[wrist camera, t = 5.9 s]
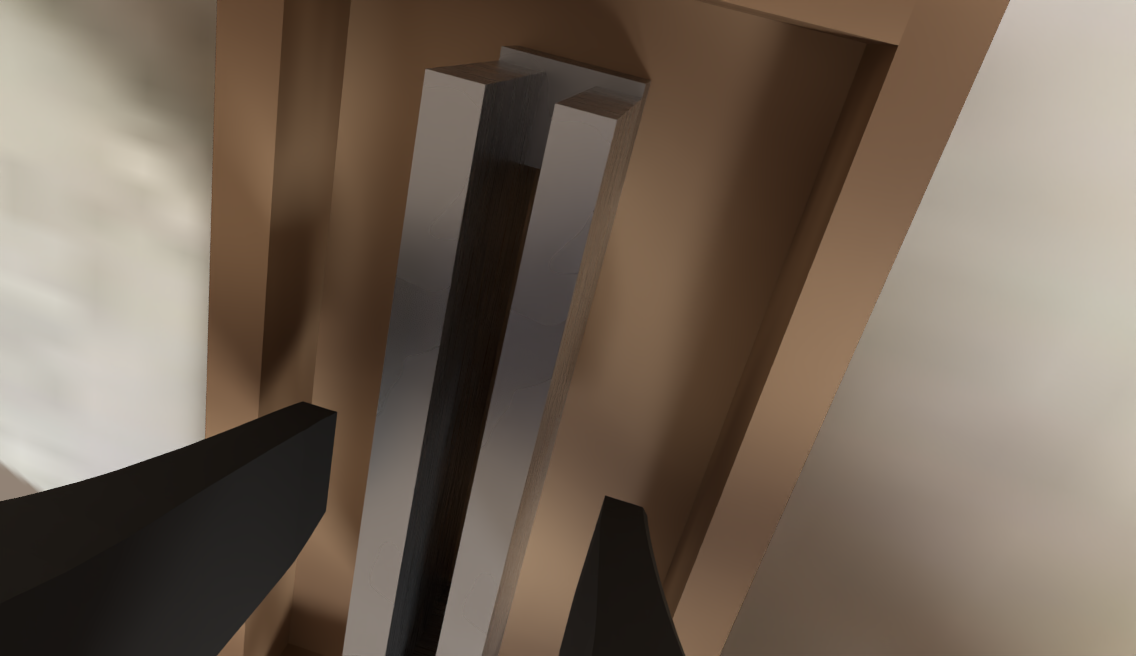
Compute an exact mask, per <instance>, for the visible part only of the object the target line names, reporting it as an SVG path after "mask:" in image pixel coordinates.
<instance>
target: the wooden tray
mask: <svg viewBox="0 0 1136 656" xmlns="http://www.w3.org/2000/svg"><path fill="white" fill-rule="evenodd" d="M1009 1H1010V0H217V25H216V61H215V98H214V135H213V171H212V208H211V244H210V281H209V318H208V354H207V391H206V427H205V439H206V438H209V437H212V436H214V435H217V434H219V433H222V432H224V431H227V430H230V429H232V428H235V427H237V426H240V425H242V424H245V423H247V422H250V421H252V420H255V419H257V418H260V417H262V416H264V415H267V414H270V413H272V412H275V411H277V410H280V409H282V408H285V407H288V406H290V405H293V404H296V403H299V402H302V401H304V402H307V403H310V404H313V405H317V406H320V407H323V408H326V409H329V410H333V411H336V412H337V421H336V429H335V438H334V447H333V455H332V464H331V473H330V481H329V490H328V499H327V507H326V512H325V514H324V516H323V517H322V519H321V520H320V522H319V524H318V525H317V527H316V529H315V530H314V532H313V533H312V535H311V537H310V538H309V540H308V541H307V543H306V545H305V546H304V548H303V549H302V551H301V552H300V554H299V555H298V557H297V558H296V560H295V561H294V563H293V564H292V565H291V567H290V568H289V569H288V570H287V572H286V573H285V574H284V575H283V577H282V578H281V579H280V580H279V581H278V583H277V584H276V585H275V586H274V588H273V589H272V590H271V591H270V592H269V594H268V595H267V596H266V597H265V599H264V600H263V601H262V602H261V603H260V605H259V606H258V607H257V608H256V609H255V611H254V612H253V613H252V614H251V615H250V617H249V618H248V619H247V620H246V621H245V623H244V624H243V625H242V626H241V627H240V629H239V630H238V631H237V632H236V633H235V635H234V636H233V637H232V638H231V639H230V641H229V642H228V643H227V644H226V645H225V647H224V648H223V649H222V650H221V651H220V653H219V654H218V655H217V656H342V654H343V647H344V640H345V633H346V626H347V619H348V612H349V605H350V598H351V591H352V584H353V577H354V570H355V563H356V555H357V548H358V541H359V534H360V527H361V520H362V513H363V506H364V499H365V492H366V485H367V478H368V471H369V464H370V457H371V450H372V443H373V436H374V428H375V421H376V414H377V407H378V400H379V393H380V386H381V379H382V372H383V365H384V358H385V351H386V344H387V337H388V330H389V323H390V316H391V309H392V301H393V294H394V287H395V280H396V273H397V266H398V259H399V252H400V245H401V238H402V231H403V224H404V217H405V210H406V203H407V196H408V189H409V182H410V174H411V167H412V160H413V153H414V146H415V139H416V132H417V125H418V118H419V111H420V104H421V97H422V90H423V83H424V76H425V69H428V68H436V67H445V66H454V65H462V64H471V63H479V62H488V61H497V60H499V58H500V52H501V47H502V46H514V45H519V46H523V47H527V48H531V49H535V50H538V51H542V52H546V53H550V54H554V55H557V56H561V57H565V58H569V59H573V60H576V61H580V62H584V63H588V64H592V65H596V66H599V67H603V68H607V69H611V70H615V71H618V72H622V73H626V74H630V75H634V76H637V77H641V78H645V79H649V80H651V83H650V87H649V91H648V95H647V98H646V102H645V106H644V110H643V113H642V117H641V121H640V125H639V128H638V132H637V136H636V140H635V143H634V147H633V151H632V155H631V158H630V162H629V166H628V170H627V173H626V177H625V181H624V185H623V188H622V192H621V196H620V200H619V203H618V207H617V211H616V215H615V218H614V222H613V226H612V230H611V234H610V237H609V241H608V245H607V249H606V252H605V256H604V260H603V264H602V267H601V271H600V275H599V279H598V282H597V286H596V290H595V294H594V297H593V301H592V305H591V309H590V312H589V316H588V320H587V324H586V327H585V331H584V335H583V339H582V342H581V346H580V350H579V354H578V357H577V361H576V365H575V369H574V372H573V376H572V380H571V384H570V387H569V391H568V395H567V399H566V402H565V406H564V410H563V414H562V418H561V421H560V425H559V429H558V433H557V436H556V440H555V444H554V448H553V451H552V455H551V459H550V463H549V466H548V470H547V474H546V478H545V481H544V485H543V489H542V493H541V496H540V500H539V504H538V508H537V511H536V515H535V519H534V523H533V526H532V530H531V534H530V538H529V541H528V545H527V549H526V553H525V556H524V560H523V564H522V568H521V571H520V575H519V579H518V583H517V586H516V590H515V594H514V598H513V602H512V605H511V609H510V613H509V617H508V620H507V624H506V628H505V632H504V635H503V639H502V643H501V647H500V650H499V654H498V656H559V651H560V647H561V643H562V640H563V636H564V632H565V628H566V624H567V621H568V617H569V613H570V609H571V605H572V602H573V598H574V594H575V591H576V587H577V584H578V581H579V578H580V574H581V571H582V568H583V565H584V562H585V558H586V555H587V552H588V549H589V546H590V542H591V539H592V536H593V533H594V530H595V526H596V523H597V520H598V517H599V514H600V510H601V507H602V504H603V501H604V498H605V495H606V496H609V497H612V498H615V499H619V500H622V501H625V502H628V503H632V504H635V505H638V506H641V507H643V508H644V510H645V512H646V514H647V517H648V526H649V532H650V538H651V543H652V548H653V552H654V557H655V561H656V565H657V569H658V573H659V577H660V580H661V584H662V587H663V591H664V594H665V597H666V600H667V604H668V607H669V610H670V613H671V617H672V620H673V623H674V625H675V628H676V631H677V634H678V637H679V640H680V642H681V645H682V648H683V650H684V653H685V656H720V653H721V651H722V649H723V647H724V644H725V642H726V640H727V637H728V635H729V633H730V631H731V628H732V626H733V624H734V622H735V619H736V617H737V615H738V613H739V610H740V608H741V606H742V604H743V601H744V599H745V597H746V595H747V592H748V590H749V588H750V586H751V583H752V581H753V579H754V577H755V574H756V572H757V570H758V568H759V565H760V563H761V561H762V559H763V556H764V554H765V552H766V550H767V547H768V545H769V543H770V540H771V538H772V536H773V534H774V531H775V529H776V527H777V525H778V522H779V520H780V518H781V516H782V513H783V511H784V509H785V507H786V504H787V502H788V500H789V498H790V495H791V493H792V491H793V489H794V486H795V484H796V482H797V480H798V477H799V475H800V473H801V471H802V468H803V466H804V464H805V462H806V459H807V457H808V455H809V452H810V450H811V448H812V446H813V443H814V441H815V439H816V437H817V434H818V432H819V430H820V428H821V425H822V423H823V421H824V419H825V416H826V414H827V412H828V410H829V407H830V405H831V403H832V401H833V398H834V396H835V394H836V392H837V389H838V387H839V385H840V383H841V380H842V378H843V376H844V374H845V371H846V369H847V367H848V364H849V362H850V360H851V358H852V355H853V353H854V351H855V349H856V346H857V344H858V342H859V340H860V337H861V335H862V333H863V331H864V328H865V326H866V324H867V322H868V319H869V317H870V315H871V313H872V310H873V308H874V306H875V304H876V301H877V299H878V297H879V295H880V292H881V290H882V288H883V286H884V283H885V281H886V279H887V277H888V274H889V272H890V270H891V267H892V265H893V263H894V261H895V258H896V256H897V254H898V252H899V249H900V247H901V245H902V243H903V240H904V238H905V236H906V234H907V231H908V229H909V227H910V225H911V222H912V220H913V218H914V216H915V213H916V211H917V209H918V207H919V204H920V202H921V200H922V198H923V195H924V193H925V191H926V189H927V186H928V184H929V182H930V179H931V177H932V175H933V173H934V170H935V168H936V166H937V164H938V161H939V159H940V157H941V155H942V152H943V150H944V148H945V146H946V143H947V141H948V139H949V137H950V134H951V132H952V130H953V128H954V125H955V123H956V121H957V119H958V116H959V114H960V112H961V110H962V107H963V105H964V103H965V101H966V98H967V96H968V94H969V92H970V89H971V87H972V85H973V82H974V80H975V78H976V76H977V73H978V71H979V69H980V67H981V64H982V62H983V60H984V58H985V55H986V53H987V51H988V49H989V46H990V44H991V42H992V40H993V37H994V35H995V33H996V31H997V28H998V26H999V24H1000V22H1001V19H1002V17H1003V15H1004V13H1005V10H1006V8H1007V6H1008V4H1009ZM540 172H541V169H538V168H536V172H535V177H534V181H533V186H532V191H531V196H530V200H529V205H528V210H527V214H526V219H525V224H524V228H523V233H522V238H521V242H520V247H519V252H518V256H517V261H516V266H515V270H514V275H513V280H512V284H511V289H510V294H509V299H508V303H507V308H506V313H505V317H504V322H503V327H502V331H501V336H500V341H499V345H498V350H497V355H496V359H495V364H494V369H493V373H492V378H491V383H490V387H489V392H488V397H487V401H486V406H485V411H484V416H483V420H482V425H481V430H480V434H479V439H478V444H477V448H476V453H475V458H474V462H473V467H472V472H471V476H470V481H469V486H468V490H467V495H466V500H465V504H464V509H463V514H462V519H461V523H460V528H459V533H458V537H457V542H456V547H455V551H454V556H453V561H452V565H451V570H450V575H449V579H448V580H449V581H452V578H453V573H454V569H455V564H456V560H457V555H458V550H459V546H460V541H461V537H462V532H463V527H464V523H465V518H466V513H467V509H468V504H469V500H470V495H471V490H472V486H473V481H474V476H475V472H476V467H477V463H478V458H479V453H480V449H481V444H482V440H483V435H484V430H485V426H486V421H487V416H488V412H489V407H490V403H491V398H492V393H493V389H494V384H495V379H496V375H497V370H498V366H499V361H500V356H501V352H502V347H503V342H504V338H505V333H506V329H507V324H508V319H509V315H510V310H511V306H512V301H513V296H514V292H515V287H516V282H517V278H518V273H519V269H520V264H521V259H522V255H523V250H524V245H525V241H526V236H527V232H528V227H529V222H530V218H531V213H532V209H533V204H534V199H535V195H536V190H537V185H538V181H539V176H540Z"/></svg>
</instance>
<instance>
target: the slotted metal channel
mask: <svg viewBox="0 0 1136 656" xmlns="http://www.w3.org/2000/svg"><path fill="white" fill-rule="evenodd" d="M650 83H651V80H649V79H645V78H641V77H637V76H634V75H630V74H626V73H622V72H618V71H615V70H611V69H607V68H603V67H599V66H596V65H592V64H588V63H584V62H580V61H576V60H573V59H569V58H565V57H561V56H557V55H554V54H550V53H546V52H542V51H538V50H535V49H531V48H527V47H523V46H519V45H514V46H502V47H501V52H500V58H499V60H497V61H488V62H479V63H471V64H462V65H454V66H445V67H436V68H428V69H425V76H424V83H423V90H422V97H421V104H420V111H419V118H418V125H417V132H416V139H415V146H414V153H413V160H412V167H411V174H410V182H409V189H408V196H407V203H406V210H405V217H404V224H403V231H402V238H401V245H400V252H399V259H398V266H397V273H396V280H395V287H394V294H393V301H392V309H391V316H390V323H389V330H388V337H387V344H386V351H385V358H384V365H383V372H382V379H381V386H380V393H379V400H378V407H377V414H376V421H375V428H374V436H373V443H372V450H371V457H370V464H369V471H368V478H367V485H366V492H365V499H364V506H363V513H362V520H361V527H360V534H359V541H358V548H357V555H356V563H355V570H354V577H353V584H352V591H351V598H350V605H349V612H348V619H347V626H346V633H345V640H344V647H343V654H342V656H498V654H499V650H500V647H501V643H502V639H503V635H504V632H505V628H506V624H507V620H508V617H509V613H510V609H511V605H512V602H513V598H514V594H515V590H516V586H517V583H518V579H519V575H520V571H521V568H522V564H523V560H524V556H525V553H526V549H527V545H528V541H529V538H530V534H531V530H532V526H533V523H534V519H535V515H536V511H537V508H538V504H539V500H540V496H541V493H542V489H543V485H544V481H545V478H546V474H547V470H548V466H549V463H550V459H551V455H552V451H553V448H554V444H555V440H556V436H557V433H558V429H559V425H560V421H561V418H562V414H563V410H564V406H565V402H566V399H567V395H568V391H569V387H570V384H571V380H572V376H573V372H574V369H575V365H576V361H577V357H578V354H579V350H580V346H581V342H582V339H583V335H584V331H585V327H586V324H587V320H588V316H589V312H590V309H591V305H592V301H593V297H594V294H595V290H596V286H597V282H598V279H599V275H600V271H601V267H602V264H603V260H604V256H605V252H606V249H607V245H608V241H609V237H610V234H611V230H612V226H613V222H614V218H615V215H616V211H617V207H618V203H619V200H620V196H621V192H622V188H623V185H624V181H625V177H626V173H627V170H628V166H629V162H630V158H631V155H632V151H633V147H634V143H635V140H636V136H637V132H638V128H639V125H640V121H641V117H642V113H643V110H644V106H645V102H646V98H647V95H648V91H649V87H650ZM536 168H538V169H541V172H540V176H539V181H538V185H537V190H536V195H535V199H534V204H533V209H532V213H531V218H530V222H529V227H528V232H527V236H526V241H525V245H524V250H523V255H522V259H521V264H520V269H519V273H518V278H517V282H516V287H515V292H514V296H513V301H512V306H511V310H510V315H509V319H508V324H507V329H506V333H505V338H504V342H503V347H502V352H501V356H500V361H499V366H498V370H497V375H496V379H495V384H494V389H493V393H492V398H491V403H490V407H489V412H488V416H487V421H486V426H485V430H484V435H483V440H482V444H481V449H480V453H479V458H478V463H477V467H476V472H475V476H474V481H473V486H472V490H471V495H470V500H469V504H468V509H467V513H466V518H465V523H464V527H463V532H462V537H461V541H460V546H459V550H458V555H457V560H456V564H455V569H454V573H453V578H452V581H449V580H448V579H449V575H450V570H451V565H452V561H453V556H454V551H455V547H456V542H457V537H458V533H459V528H460V523H461V519H462V514H463V509H464V504H465V500H466V495H467V490H468V486H469V481H470V476H471V472H472V467H473V462H474V458H475V453H476V448H477V444H478V439H479V434H480V430H481V425H482V420H483V416H484V411H485V406H486V401H487V397H488V392H489V387H490V383H491V378H492V373H493V369H494V364H495V359H496V355H497V350H498V345H499V341H500V336H501V331H502V327H503V322H504V317H505V313H506V308H507V303H508V299H509V294H510V289H511V284H512V280H513V275H514V270H515V266H516V261H517V256H518V252H519V247H520V242H521V238H522V233H523V228H524V224H525V219H526V214H527V210H528V205H529V200H530V196H531V191H532V186H533V181H534V177H535V172H536Z"/></svg>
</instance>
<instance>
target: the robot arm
mask: <svg viewBox="0 0 1136 656" xmlns="http://www.w3.org/2000/svg"><path fill="white" fill-rule="evenodd" d="M336 421H337V412H336V411H333V410H329V409H326V408H323V407H320V406H317V405H313V404H310V403H307V402H304V401H302V402H299V403H296V404H293V405H290V406H288V407H285V408H282V409H280V410H277V411H275V412H272V413H270V414H267V415H264V416H262V417H260V418H257V419H255V420H252V421H250V422H247V423H245V424H242V425H240V426H237V427H235V428H232V429H230V430H227V431H224V432H222V433H219V434H217V435H214V436H212V437H209V438H206V439H204V440H201V441H199V442H196V443H194V444H191V445H188V446H186V447H183V448H180V449H177V450H174V451H172V452H169V453H166V454H163V455H160V456H157V457H154V458H151V459H148V460H146V461H143V462H140V463H137V464H134V465H131V466H128V467H125V468H122V469H119V470H117V471H113V472H110V473H107V474H104V475H100V476H97V477H94V478H90V479H87V480H83V481H80V482H77V483H73V484H69V485H65V486H62V487H58V488H54V489H50V490H46V491H43V492H39V493H35V494H31V495H27V496H23V497H19V498H14V499H9V500H4V501H0V656H217V655H218V654H219V653H220V651H221V650H222V649H223V648H224V647H225V645H226V644H227V643H228V642H229V641H230V639H231V638H232V637H233V636H234V635H235V633H236V632H237V631H238V630H239V629H240V627H241V626H242V625H243V624H244V623H245V621H246V620H247V619H248V618H249V617H250V615H251V614H252V613H253V612H254V611H255V609H256V608H257V607H258V606H259V605H260V603H261V602H262V601H263V600H264V599H265V597H266V596H267V595H268V594H269V592H270V591H271V590H272V589H273V588H274V586H275V585H276V584H277V583H278V581H279V580H280V579H281V578H282V577H283V575H284V574H285V573H286V572H287V570H288V569H289V568H290V567H291V565H292V564H293V563H294V561H295V560H296V558H297V557H298V555H299V554H300V552H301V551H302V549H303V548H304V546H305V545H306V543H307V541H308V540H309V538H310V537H311V535H312V533H313V532H314V530H315V529H316V527H317V525H318V524H319V522H320V520H321V519H322V517H323V516H324V514H325V512H326V507H327V499H328V490H329V481H330V473H331V464H332V455H333V447H334V438H335V429H336ZM559 656H685V653H684V650H683V648H682V645H681V642H680V640H679V637H678V634H677V631H676V628H675V625H674V623H673V620H672V617H671V613H670V610H669V607H668V604H667V600H666V597H665V594H664V591H663V587H662V584H661V580H660V577H659V573H658V569H657V565H656V561H655V557H654V552H653V548H652V543H651V538H650V532H649V526H648V517H647V514H646V512H645V510H644V508H643V507H641V506H638V505H635V504H632V503H628V502H625V501H622V500H619V499H615V498H612V497H609V496H606V495H605V498H604V501H603V504H602V507H601V510H600V514H599V517H598V520H597V523H596V526H595V530H594V533H593V536H592V539H591V542H590V546H589V549H588V552H587V555H586V558H585V562H584V565H583V568H582V571H581V574H580V578H579V581H578V584H577V587H576V591H575V594H574V598H573V602H572V605H571V609H570V613H569V617H568V621H567V624H566V628H565V632H564V636H563V640H562V643H561V647H560V651H559Z"/></svg>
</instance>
